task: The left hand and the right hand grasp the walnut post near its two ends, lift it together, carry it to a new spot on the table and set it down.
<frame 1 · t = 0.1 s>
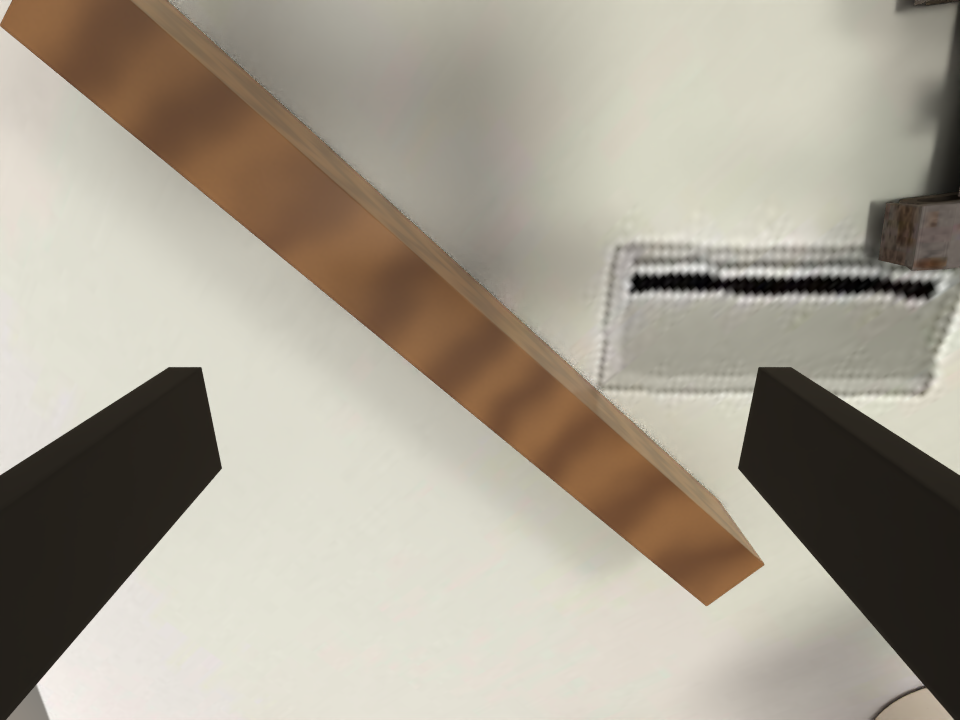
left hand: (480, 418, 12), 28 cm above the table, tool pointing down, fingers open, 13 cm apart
post: (458, 312, 40), on the table
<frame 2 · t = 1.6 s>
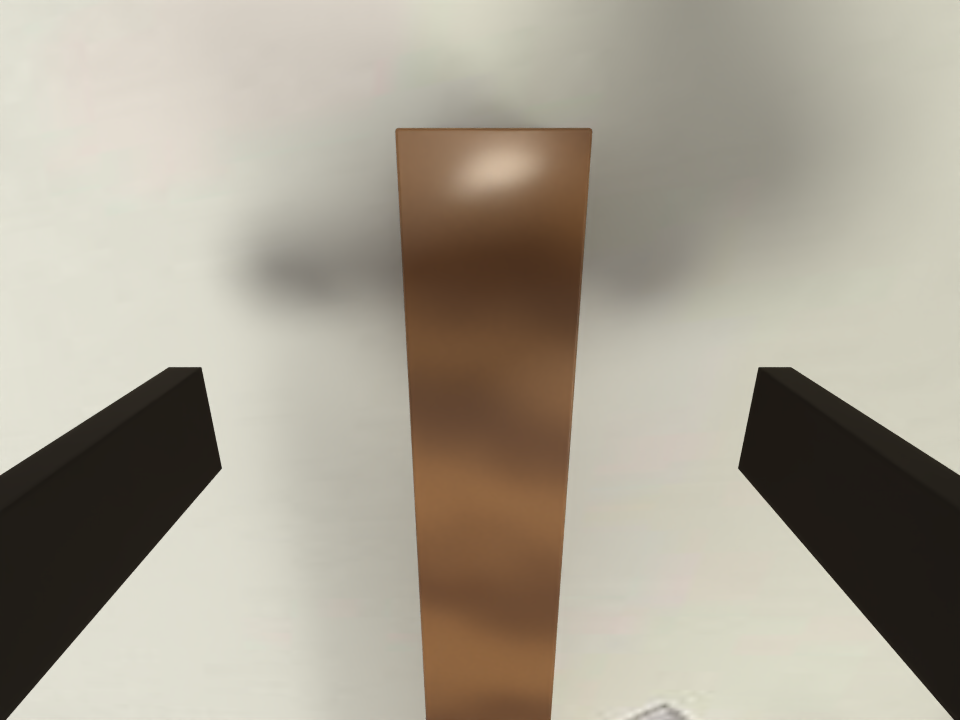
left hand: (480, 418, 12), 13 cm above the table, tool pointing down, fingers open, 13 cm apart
post: (487, 642, 32), on the table
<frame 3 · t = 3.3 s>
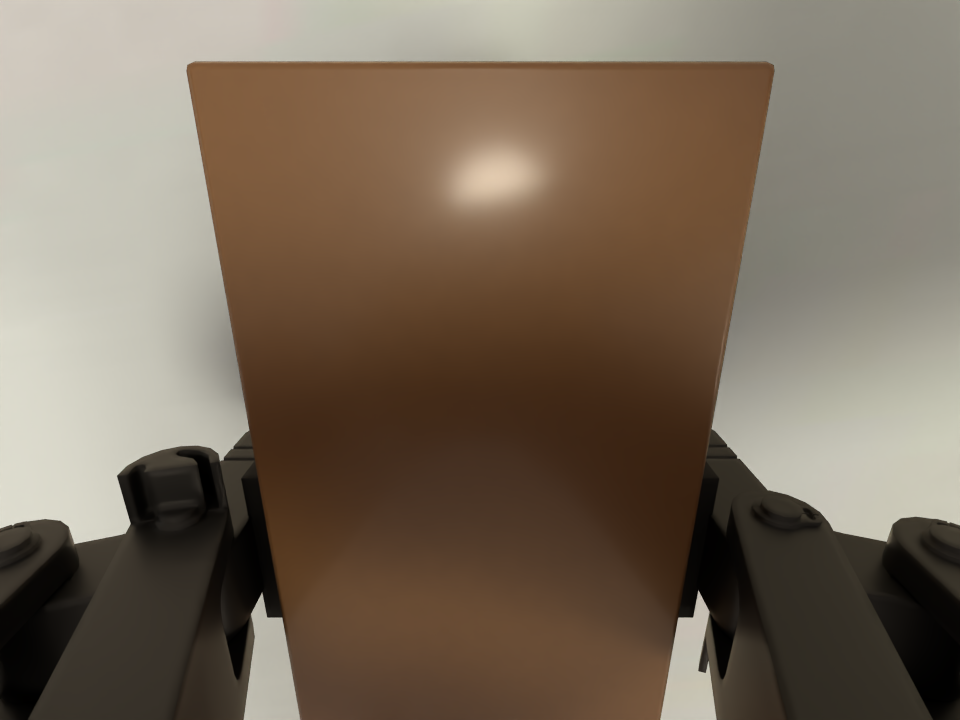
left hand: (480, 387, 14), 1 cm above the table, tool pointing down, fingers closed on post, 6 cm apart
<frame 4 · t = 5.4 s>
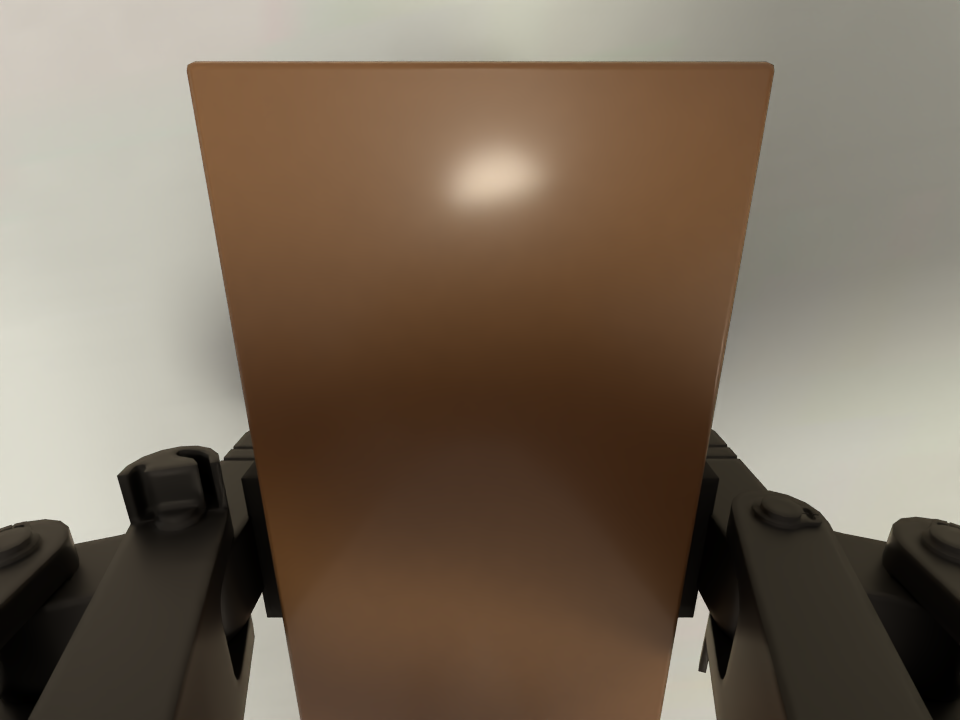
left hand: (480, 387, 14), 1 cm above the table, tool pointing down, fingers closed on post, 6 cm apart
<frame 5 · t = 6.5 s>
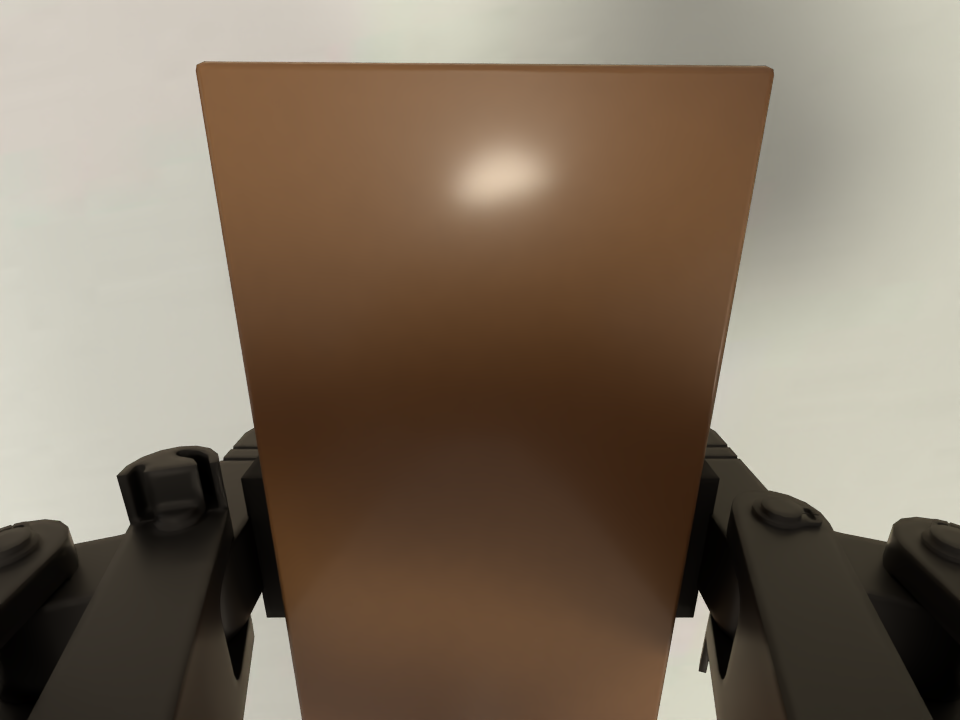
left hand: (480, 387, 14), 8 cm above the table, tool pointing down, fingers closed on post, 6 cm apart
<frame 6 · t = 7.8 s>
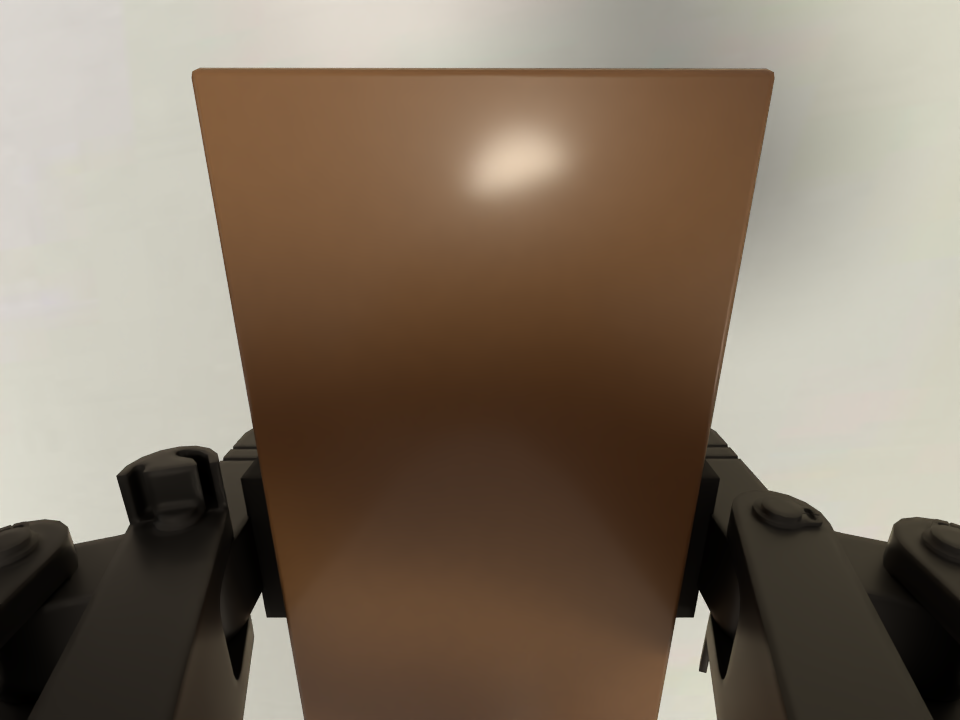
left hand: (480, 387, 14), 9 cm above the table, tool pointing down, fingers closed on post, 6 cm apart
when the left hand's fingers open (2 cm above the table, at t = 10.0 s): post drops 1 cm, held by the right hand.
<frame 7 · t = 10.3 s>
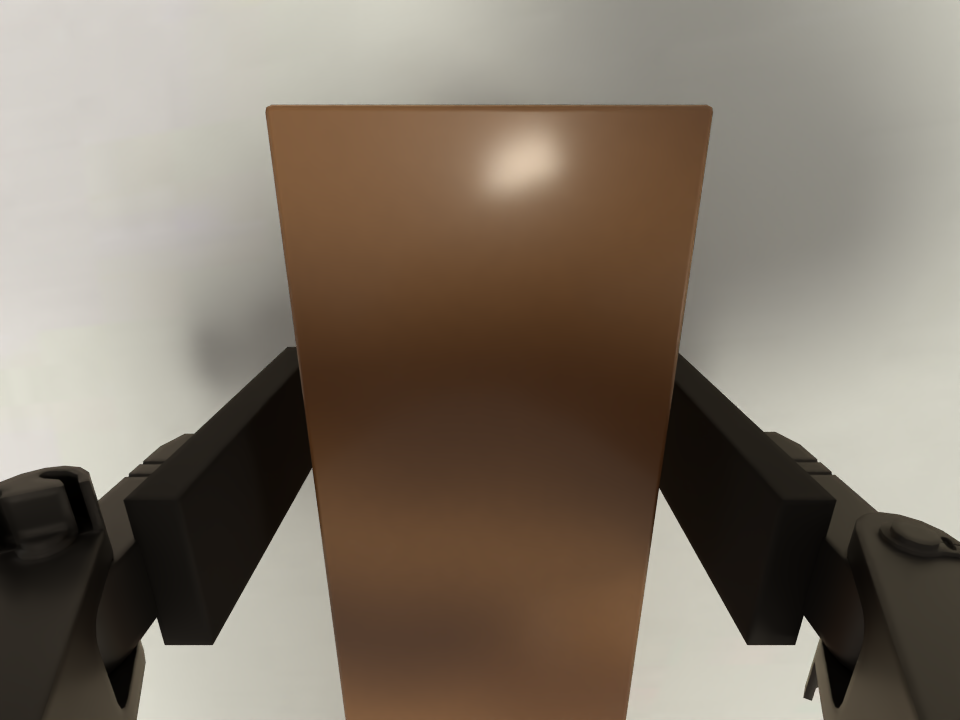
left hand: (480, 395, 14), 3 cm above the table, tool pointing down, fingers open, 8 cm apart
when the right hand's fingers open (4 cm above the table, at t = 10.3 s): post stays where it is, on the table.
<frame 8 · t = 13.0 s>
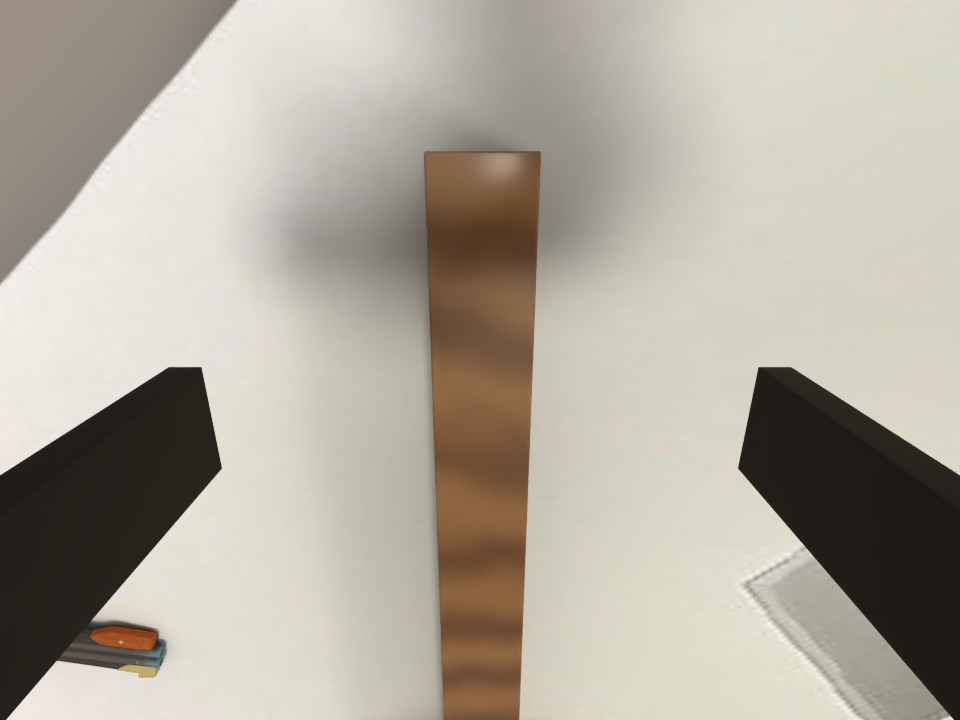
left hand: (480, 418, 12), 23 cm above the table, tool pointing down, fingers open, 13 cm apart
toy gun: (58, 604, 45), on the table
post: (481, 534, 42), on the table
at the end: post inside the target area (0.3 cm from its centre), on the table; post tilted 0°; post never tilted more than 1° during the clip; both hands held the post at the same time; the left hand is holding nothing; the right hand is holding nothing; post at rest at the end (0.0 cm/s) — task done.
